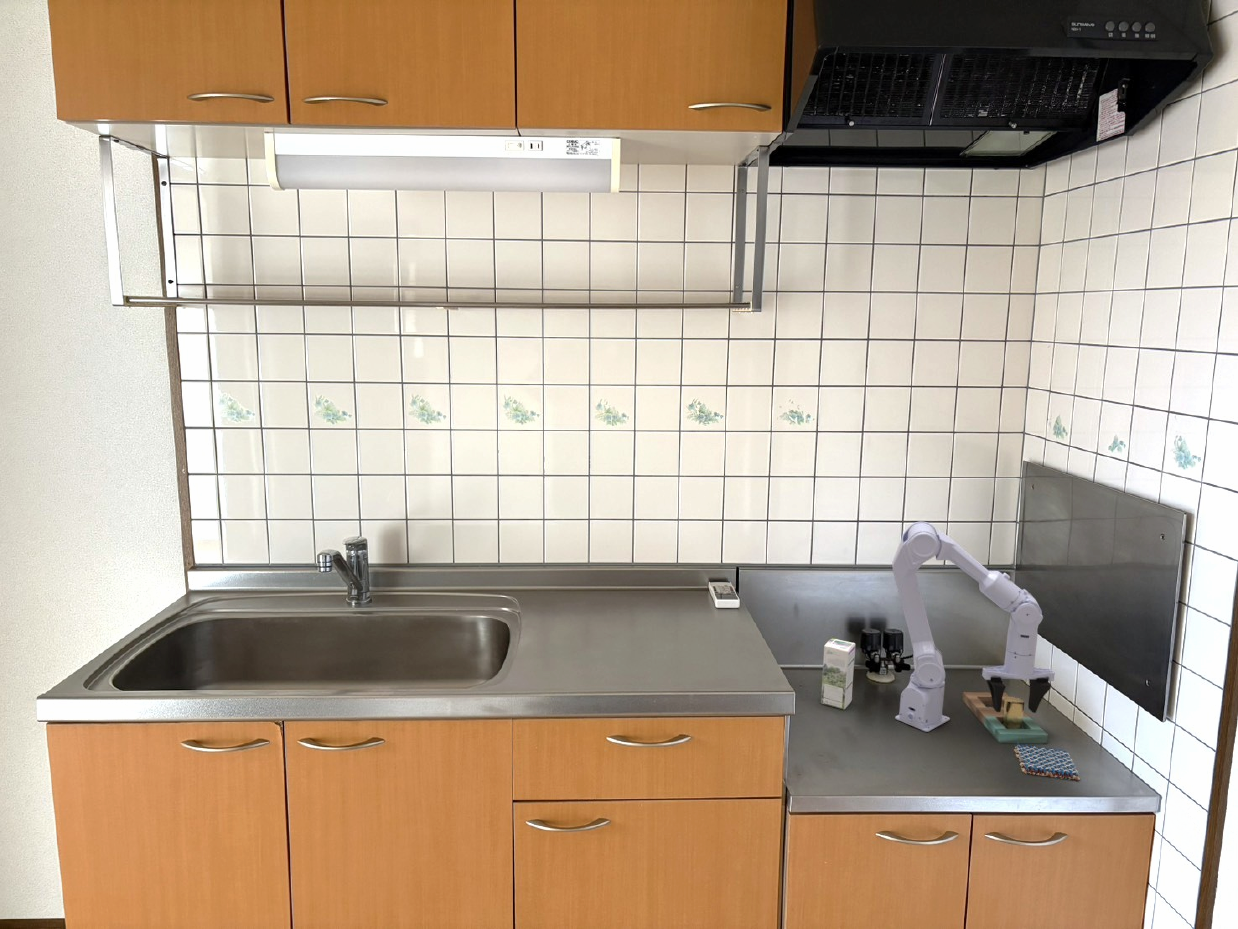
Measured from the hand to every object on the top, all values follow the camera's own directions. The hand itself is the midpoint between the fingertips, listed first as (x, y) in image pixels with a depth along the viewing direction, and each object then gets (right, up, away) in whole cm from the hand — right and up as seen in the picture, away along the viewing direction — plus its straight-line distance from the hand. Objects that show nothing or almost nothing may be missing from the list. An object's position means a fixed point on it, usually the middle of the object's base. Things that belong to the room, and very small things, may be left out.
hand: (1014, 710), depth 183 cm
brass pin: (0, -5, +1) cm, 5 cm away
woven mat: (0, -8, -12) cm, 15 cm away
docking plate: (0, -4, +6) cm, 7 cm away
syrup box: (-35, -2, +13) cm, 38 cm away
